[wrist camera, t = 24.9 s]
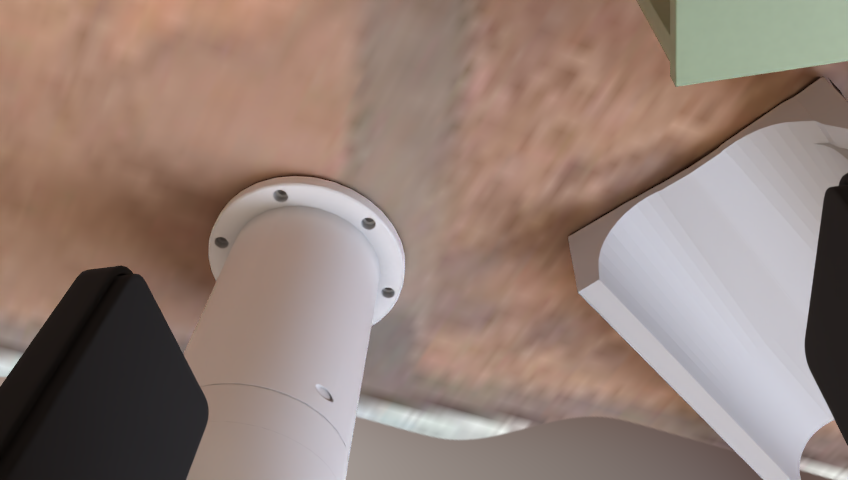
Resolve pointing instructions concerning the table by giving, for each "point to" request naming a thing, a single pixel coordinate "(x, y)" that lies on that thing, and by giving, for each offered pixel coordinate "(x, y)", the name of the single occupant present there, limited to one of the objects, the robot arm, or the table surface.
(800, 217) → the grey storage tray
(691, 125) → the table surface
